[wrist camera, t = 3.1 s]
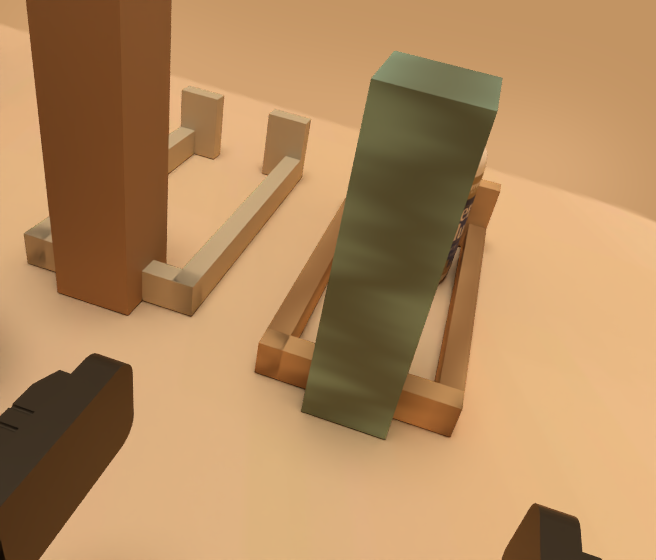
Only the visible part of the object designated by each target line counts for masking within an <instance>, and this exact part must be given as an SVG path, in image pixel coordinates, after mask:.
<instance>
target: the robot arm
mask: <svg viewBox="0 0 656 560" xmlns="http://www.w3.org/2000/svg"><path fill="white" fill-rule="evenodd" d="M133 417H134V409H133V372H132V367H131V366H130V365H129V364H126V363H123V362H120V361H117V360H114V359H111V358H108V357H105V356H102V355H100V354H96V353H94V354H91V355H89V356H88V357H87V358H86V359H85V360H84V361H83V362H82V363H81V364H80V365H79V366H78V367H77V368H76V369H75V370H74V371H73V372H72V373H71V374H70V373H67V372H64V371H61V370H58V371H57V372H55V373H53V374H51V375H49V376H47V377H45V378H43V379H41V380H39V381H37V382H36V383H34V384H32V385H31V386H30V387H29V388H28V389H27V390H26V391H25V392H24V393H23V394H22V395H21V396H20V397H19V398H18V399H17V400H16V401H15V402H14V403H13V405H12V407H11V408H8V409H7V410H6V411H5V412H4V413H3V414H2V415H1V416H0V560H39V559H40V557H41V556H42V555H43V553H44V552H45V551H46V549H47V548H48V546H49V545H50V544H51V542H52V541H53V540H54V538H55V537H56V536H57V534H58V533H59V531H60V530H61V529H62V527H63V526H64V525H65V523H66V522H67V521H68V519H69V518H70V517H71V515H72V514H73V512H74V511H75V510H76V508H77V507H78V506H79V504H80V503H81V502H82V500H83V499H84V498H85V496H86V495H87V493H88V492H89V491H90V489H91V488H92V487H93V485H94V484H95V483H96V481H97V480H98V478H99V477H100V476H101V474H102V473H103V472H104V470H105V469H106V468H107V466H108V465H109V464H110V462H111V461H112V459H113V458H114V457H115V455H116V454H117V453H118V451H119V450H120V449H121V447H122V446H123V444H124V443H125V441H126V439H127V437H128V435H129V432H130V430H131V427H132V423H133ZM502 560H602V559H601V558H598V557H595V556H593V555H590V554H587V553H584V552H582V542H581V529H580V523H579V520H578V519H577V517H575V516H572V515H569V514H566V513H563V512H560V511H557V510H554V509H551V508H548V507H545V506H542V505H539V504H536V503H535V504H533V505H532V506H531V507H530V509H529V510H528V512H527V514H526V515H525V517H524V519H523V520H522V522H521V524H520V525H519V527H518V529H517V530H516V532H515V534H514V535H513V537H512V539H511V540H510V542H509V544H508V545H507V547H506V549H505V551H504V554H503V557H502Z"/></svg>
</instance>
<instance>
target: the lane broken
mask: <svg viewBox="0 0 656 560" xmlns="http://www.w3.org/2000/svg"><path fill="white" fill-rule="evenodd" d="M26 5H27V14H28V23H29V33H30V42H31V51H32V60H33V69H34V79H35V88H36V97H37V106H38V115H39V124H40V134H41V143H42V152H43V161H44V170H45V180H46V189H47V198H48V207H49V217H47V218H46V219H44V220H43V221H41V222H40V223H38V224H37V225H35V226H34V227H33V228H31V229H30V230H28V231H27V232H25V233H24V239H25V247H26V254H27V261H28V263H30V264H33V265H36V266H39V267H42V268H45V269H48V270H51V271H54V272H56V281H57V290H58V292H59V293H62V294H65V295H68V296H71V297H74V298H77V299H80V300H83V301H86V302H89V303H92V304H95V305H98V306H101V307H104V308H107V309H110V310H113V311H116V312H119V313H122V314H125V315H129V314H130V313H131V311H132V310H133V309H134V308H135V307H136V306H137V305H138V304H139V303H140V302H141V301H142V300H143V301H146V302H149V303H152V304H156V305H159V306H162V307H165V308H168V309H171V310H174V311H177V312H180V313H183V314H186V315H189V316H192V315H193V314H194V312H195V311H196V310H197V308H198V307H199V306H200V305H201V303H202V302H203V301H204V300H205V298H206V297H207V296H208V295H209V293H210V292H211V291H212V290H213V288H214V287H215V286H216V285H217V283H218V282H219V281H220V279H221V278H222V277H223V276H224V274H225V273H226V272H227V271H228V269H229V268H230V267H231V266H232V264H233V263H234V262H235V261H236V259H237V258H238V257H239V256H240V254H241V253H242V252H243V251H244V249H245V248H246V247H247V245H248V244H249V243H250V242H251V240H252V239H253V238H254V237H255V235H256V234H257V233H258V232H259V230H260V229H261V228H262V227H263V225H264V224H265V223H266V222H267V220H268V219H269V218H270V216H271V215H272V214H273V213H274V211H275V210H276V209H277V208H278V206H279V205H280V204H281V203H282V201H283V200H284V199H285V198H286V196H287V195H288V194H289V193H290V191H291V190H292V189H293V188H294V186H295V185H296V184H297V182H298V181H299V180H300V179H301V177H302V172H303V166H304V160H305V154H306V147H307V141H308V135H309V129H310V122H311V119H309V118H306V117H302V116H298V115H295V114H291V113H287V112H284V111H280V110H276V109H274V110H273V111H272V112H271V113H270V114H269V119H268V127H267V136H266V144H265V153H264V161H263V170H262V173H264V174H267V175H268V176H267V177H266V178H265V179H264V180H263V181H262V182H261V183H260V185H259V186H258V187H257V188H256V189H255V190H254V191H253V192H252V193H251V194H250V195H249V197H248V198H247V199H246V200H245V201H244V202H243V203H242V204H241V205H240V206H239V208H238V209H237V210H236V211H235V212H234V213H233V214H232V215H231V216H230V217H229V218H228V220H227V221H226V222H225V223H224V224H223V225H222V226H221V227H220V228H219V229H218V230H217V232H216V233H215V234H214V235H213V236H212V237H211V238H210V239H209V240H208V241H207V242H206V244H205V245H204V246H203V247H202V248H201V249H200V250H199V251H198V252H197V253H196V254H195V256H194V257H193V258H192V259H191V260H190V261H189V262H188V263H187V264H186V265H185V266H184V268H183V269H181V268H178V267H175V266H172V265H168V264H166V251H167V200H168V173H170V172H171V171H172V170H174V169H175V168H176V167H177V166H179V165H180V164H181V163H182V162H184V161H185V160H186V159H188V158H189V157H190V156H191V155H193V154H198V155H201V156H205V157H208V158H212V159H214V158H215V157H217V156H218V155H219V154H220V146H221V132H222V118H223V105H224V95H221V94H218V93H214V92H210V91H207V90H203V89H199V88H196V87H192V86H188V87H186V88H184V89H183V90H182V102H181V127H179V128H178V129H176V130H175V131H173V132H172V133H170V134H169V99H170V47H171V46H170V45H171V0H26Z"/></svg>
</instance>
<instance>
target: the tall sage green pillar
mask: <svg viewBox="0 0 656 560" xmlns="http://www.w3.org/2000/svg"><path fill="white" fill-rule="evenodd" d="M501 85H502V78H501V77H497V76H493V75H489V74H485V73H481V72H476V71H473V70H469V69H465V68H461V67H457V66H453V65H449V64H445V63H441V62H437V61H433V60H430V59H426V58H422V57H418V56H414V55H410V54H406V53H402V52H398V51H394V52H393V53H392V54H391V56H390V57H389V58H388V59H387V60H386V62H385V63H384V64H383V65H382V66H381V68H380V69H379V70H378V71H377V72H376V73H375V75H374V76H373V77H372V79H371V82H370V87H369V91H368V96H367V101H366V105H365V111H364V115H363V120H362V124H361V129H360V134H359V139H358V143H357V148H356V153H355V158H354V162H353V167H352V172H351V177H350V181H349V186H348V191H347V196H346V198H345V200H344V201H343V203H342V205H341V206H340V208H339V210H338V211H337V213H336V215H335V216H334V218H333V220H332V221H331V223H330V225H329V226H328V228H327V230H326V231H325V233H324V235H323V236H322V238H321V240H320V241H319V243H318V245H317V246H316V248H315V250H314V251H313V253H312V255H311V256H310V258H309V260H308V261H307V263H306V265H305V266H304V268H303V270H302V272H301V273H300V275H299V277H298V278H297V280H296V282H295V283H294V285H293V287H292V288H291V290H290V292H289V293H288V295H287V297H286V298H285V300H284V302H283V303H282V305H281V307H280V308H279V310H278V312H277V313H276V315H275V317H274V318H273V320H272V322H271V323H270V325H269V327H268V328H267V330H266V332H265V333H264V335H263V337H262V338H261V340H260V342H259V345H258V352H257V359H256V366H255V372H256V373H259V374H262V375H265V376H268V377H271V378H274V379H277V380H280V381H283V382H286V383H289V384H292V385H295V386H298V387H301V388H304V389H306V390H305V395H304V399H303V404H302V409H301V411H302V412H305V413H308V414H311V415H314V416H317V417H320V418H323V419H326V420H329V421H332V422H335V423H337V424H340V425H343V426H346V427H349V428H352V429H355V430H358V431H361V432H364V433H367V434H370V435H373V436H376V437H379V438H382V439H386V436H387V433H388V430H389V427H390V424H391V421H392V418H394V419H397V420H400V421H403V422H406V423H409V424H412V425H415V426H418V427H421V428H424V429H427V430H430V431H433V432H436V433H439V434H442V435H445V436H448V437H450V436H451V434H452V432H453V429H454V427H455V425H456V422H457V420H458V418H459V416H460V413H461V411H462V407H463V400H464V392H465V385H466V377H467V370H468V362H469V355H470V347H471V340H472V332H473V325H474V317H475V310H476V302H477V295H478V287H479V280H480V272H481V265H482V257H483V250H484V242H485V235H486V228H487V225H488V223H489V220H490V217H491V215H492V212H493V209H494V207H495V204H496V201H497V199H498V196H499V193H500V188H501V184H498V183H494V182H490V181H487V180H483V179H481V182H480V185H479V187H478V190H477V193H476V196H475V199H474V202H473V204H472V207H471V210H470V213H469V216H468V219H467V221H466V224H465V227H464V230H463V233H462V235H461V238H460V241H459V244H458V246H461V250H460V255H459V260H458V266H457V271H456V276H455V281H454V286H453V291H452V296H451V301H450V306H449V311H448V316H447V321H446V327H445V332H444V337H443V342H442V347H441V352H440V357H439V362H438V367H437V372H436V377H435V382H434V381H430V380H427V379H424V378H421V377H418V376H415V375H412V374H409V373H408V372H409V369H410V366H411V363H412V360H413V357H414V354H415V351H416V348H417V345H418V342H419V339H420V336H421V334H422V331H423V328H424V325H425V322H426V319H427V316H428V313H429V310H430V307H431V304H432V301H433V298H434V295H435V293H436V290H437V287H438V284H439V281H440V278H441V275H442V272H443V269H444V266H445V263H446V260H447V257H448V254H449V252H450V249H451V246H452V243H453V240H454V237H455V234H456V231H457V228H458V225H459V222H460V219H461V216H462V213H463V211H464V208H465V205H466V202H467V199H468V196H469V193H470V190H471V187H472V184H473V181H474V178H475V175H476V172H477V170H478V167H479V164H480V161H481V158H482V155H483V152H484V149H485V146H486V143H487V140H488V137H489V134H490V131H491V129H492V126H493V122H494V120H495V117H496V114H497V111H498V104H499V98H500V91H501ZM327 283H328V286H327V290H326V295H325V300H324V305H323V309H322V314H321V319H320V324H319V328H318V333H317V338H316V343H313V342H310V341H306V340H303V339H300V338H299V337H300V335H301V333H302V331H303V329H304V328H305V326H306V324H307V322H308V320H309V318H310V316H311V314H312V312H313V310H314V308H315V306H316V304H317V302H318V300H319V298H320V297H321V295H322V293H323V291H324V289H325V287H326V285H327Z"/></svg>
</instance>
